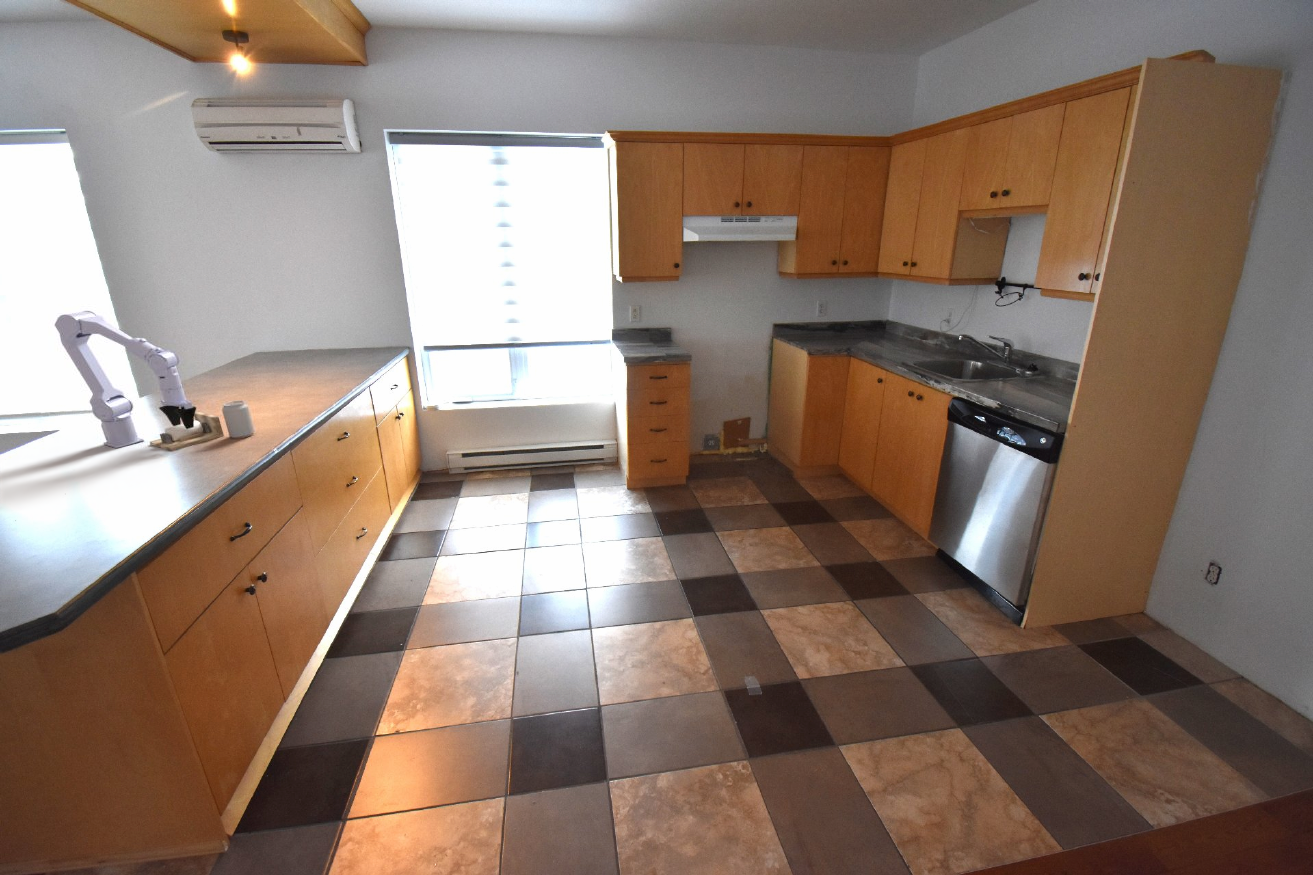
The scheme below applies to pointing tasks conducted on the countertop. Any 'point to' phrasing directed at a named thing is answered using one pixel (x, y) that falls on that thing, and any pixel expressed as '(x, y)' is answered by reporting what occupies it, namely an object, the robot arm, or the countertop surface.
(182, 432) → the cylinder
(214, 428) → the roll holder
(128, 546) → the countertop surface
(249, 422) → the can
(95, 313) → the robot arm
